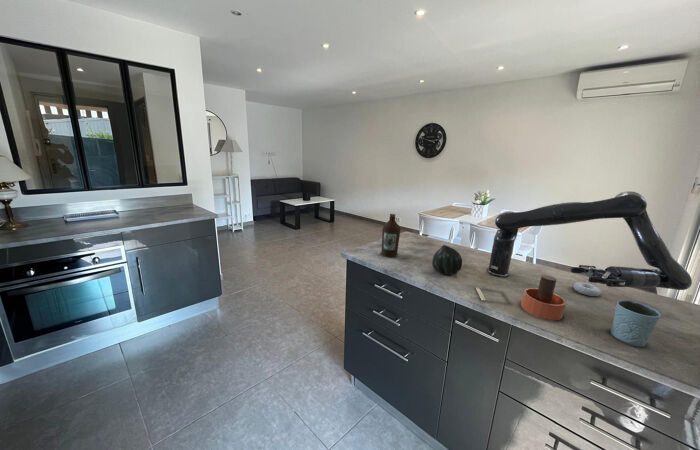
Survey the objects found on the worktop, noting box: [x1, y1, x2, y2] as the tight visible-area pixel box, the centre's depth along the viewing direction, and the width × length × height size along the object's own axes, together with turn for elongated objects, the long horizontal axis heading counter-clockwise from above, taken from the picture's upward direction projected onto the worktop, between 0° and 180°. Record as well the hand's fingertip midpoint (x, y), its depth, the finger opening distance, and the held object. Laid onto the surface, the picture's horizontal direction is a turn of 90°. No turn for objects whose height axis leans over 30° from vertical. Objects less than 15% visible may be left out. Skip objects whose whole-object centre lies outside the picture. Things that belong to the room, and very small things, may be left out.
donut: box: [572, 281, 602, 297], centre depth 123 cm, size 10×4×10 cm
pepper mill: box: [536, 274, 558, 304], centre depth 103 cm, size 5×5×14 cm
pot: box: [520, 287, 567, 321], centre depth 105 cm, size 14×14×6 cm
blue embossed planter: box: [610, 299, 662, 348], centre depth 89 cm, size 10×10×12 cm
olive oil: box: [381, 213, 401, 258], centre depth 157 cm, size 11×11×25 cm
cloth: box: [475, 287, 487, 302], centre depth 115 cm, size 11×11×1 cm
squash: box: [431, 244, 463, 276], centre depth 138 cm, size 14×15×15 cm
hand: (580, 274), depth 101 cm, fingers open, 8 cm apart
